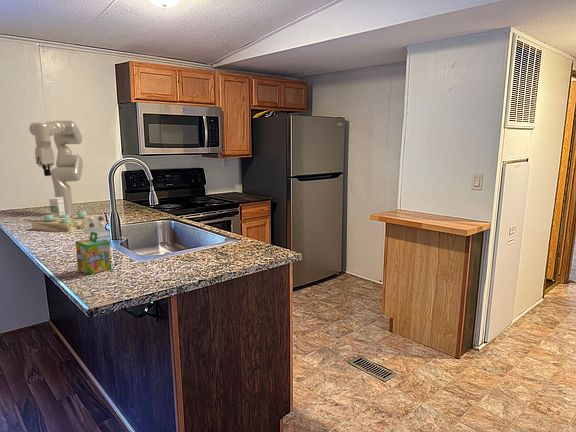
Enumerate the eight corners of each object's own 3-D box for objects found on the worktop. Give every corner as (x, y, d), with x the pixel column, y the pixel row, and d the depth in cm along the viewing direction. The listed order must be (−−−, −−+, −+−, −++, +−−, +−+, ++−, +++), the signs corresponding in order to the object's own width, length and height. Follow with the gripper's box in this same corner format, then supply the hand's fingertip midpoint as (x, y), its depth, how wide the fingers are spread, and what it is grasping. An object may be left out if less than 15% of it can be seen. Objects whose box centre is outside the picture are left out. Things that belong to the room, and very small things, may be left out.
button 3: (66, 225, 231) (66, 218, 230) (73, 226, 229) (73, 219, 229) (60, 227, 226) (59, 220, 225) (67, 227, 225) (66, 220, 224)
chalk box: (77, 270, 155) (73, 233, 152) (101, 265, 162) (97, 228, 159) (88, 275, 150) (84, 236, 147) (112, 269, 157) (109, 232, 154)
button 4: (82, 217, 241) (81, 211, 241) (88, 218, 240) (88, 211, 240) (75, 219, 237) (75, 212, 236) (82, 219, 236) (82, 213, 235)
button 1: (49, 221, 233) (48, 214, 232) (55, 221, 232) (55, 214, 231) (42, 222, 229) (41, 215, 228) (49, 223, 227) (48, 216, 227)
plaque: (85, 228, 229) (84, 216, 228) (108, 226, 234) (107, 214, 233) (85, 228, 228) (84, 216, 226) (108, 226, 233) (107, 214, 231)
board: (65, 221, 250) (64, 215, 249) (98, 223, 243) (98, 216, 243) (32, 229, 227) (31, 222, 226) (67, 232, 221) (67, 224, 220)
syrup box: (66, 219, 256) (63, 196, 253) (60, 221, 250) (57, 198, 247) (57, 219, 256) (55, 196, 254) (51, 221, 251) (48, 197, 248)
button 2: (65, 220, 245) (65, 214, 244) (72, 221, 244) (71, 214, 243) (59, 222, 240) (58, 215, 240) (66, 222, 239) (65, 216, 238)
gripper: (48, 144, 247) (52, 174, 251) (27, 145, 233) (32, 177, 237) (58, 144, 246) (62, 174, 250) (38, 145, 231) (43, 177, 236)
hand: (47, 175), depth 243 cm, fingers closed
